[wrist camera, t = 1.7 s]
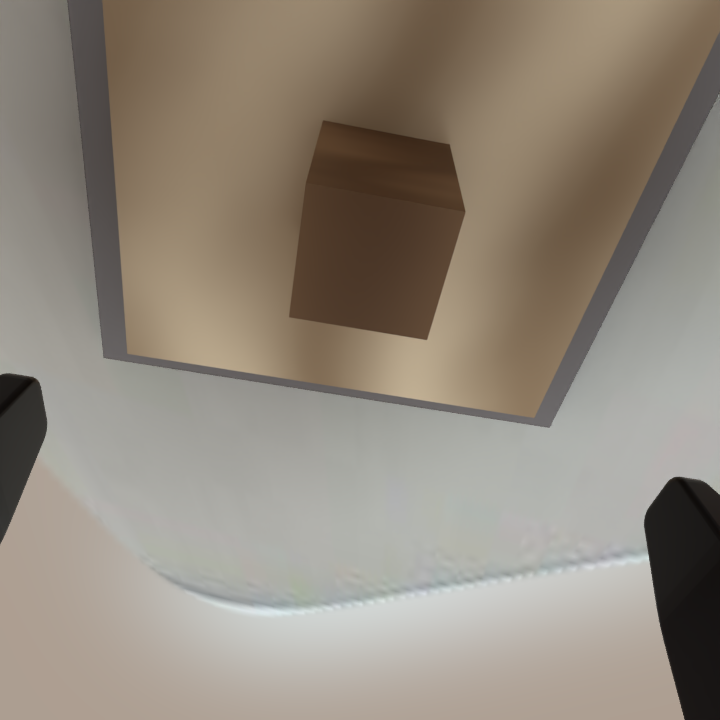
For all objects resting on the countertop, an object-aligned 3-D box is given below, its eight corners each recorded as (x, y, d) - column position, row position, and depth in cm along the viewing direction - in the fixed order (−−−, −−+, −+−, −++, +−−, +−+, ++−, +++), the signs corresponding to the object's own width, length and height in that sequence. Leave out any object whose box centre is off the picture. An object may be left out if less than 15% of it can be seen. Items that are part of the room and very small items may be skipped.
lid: (741, -63, 13) (888, -40, 9) (528, 398, 22) (560, 513, 18) (106, -207, 12) (-26, -248, 8) (137, 335, 21) (77, 442, 17)
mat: (806, -119, 13) (826, -119, 13) (545, 412, 23) (549, 427, 23) (54, -297, 12) (36, -306, 12) (111, 344, 22) (103, 357, 21)
